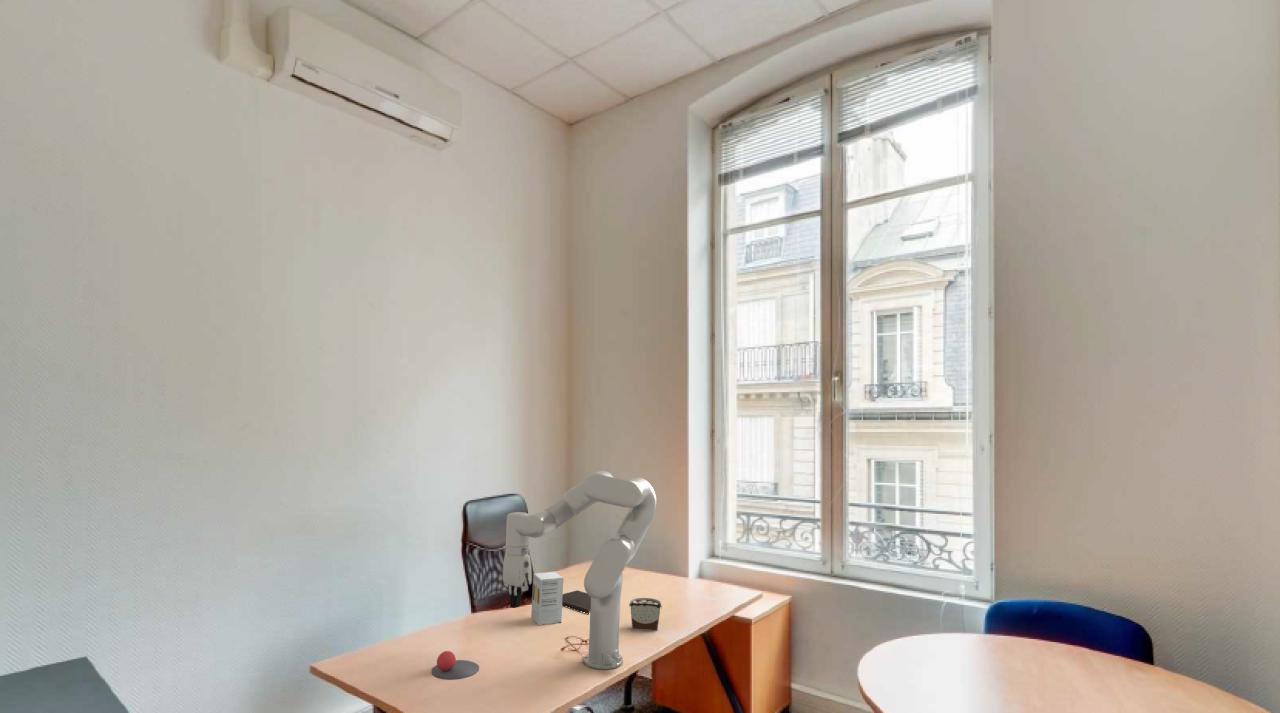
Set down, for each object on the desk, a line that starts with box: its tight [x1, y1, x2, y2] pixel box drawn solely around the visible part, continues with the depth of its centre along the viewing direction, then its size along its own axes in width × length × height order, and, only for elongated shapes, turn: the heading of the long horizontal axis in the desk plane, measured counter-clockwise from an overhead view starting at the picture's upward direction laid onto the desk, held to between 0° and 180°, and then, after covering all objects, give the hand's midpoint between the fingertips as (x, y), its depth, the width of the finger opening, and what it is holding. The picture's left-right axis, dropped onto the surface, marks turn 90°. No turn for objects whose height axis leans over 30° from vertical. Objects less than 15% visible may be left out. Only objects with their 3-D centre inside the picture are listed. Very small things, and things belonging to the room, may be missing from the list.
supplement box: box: [530, 571, 564, 626], centre depth 244 cm, size 10×9×17 cm
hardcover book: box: [562, 590, 591, 615], centre depth 266 cm, size 16×23×2 cm
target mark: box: [431, 659, 480, 680], centre depth 196 cm, size 14×14×1 cm
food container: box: [628, 597, 663, 632], centre depth 240 cm, size 12×6×10 cm, turn 84°
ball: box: [436, 650, 457, 671], centre depth 195 cm, size 6×6×6 cm
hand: (515, 606), depth 213 cm, fingers closed
